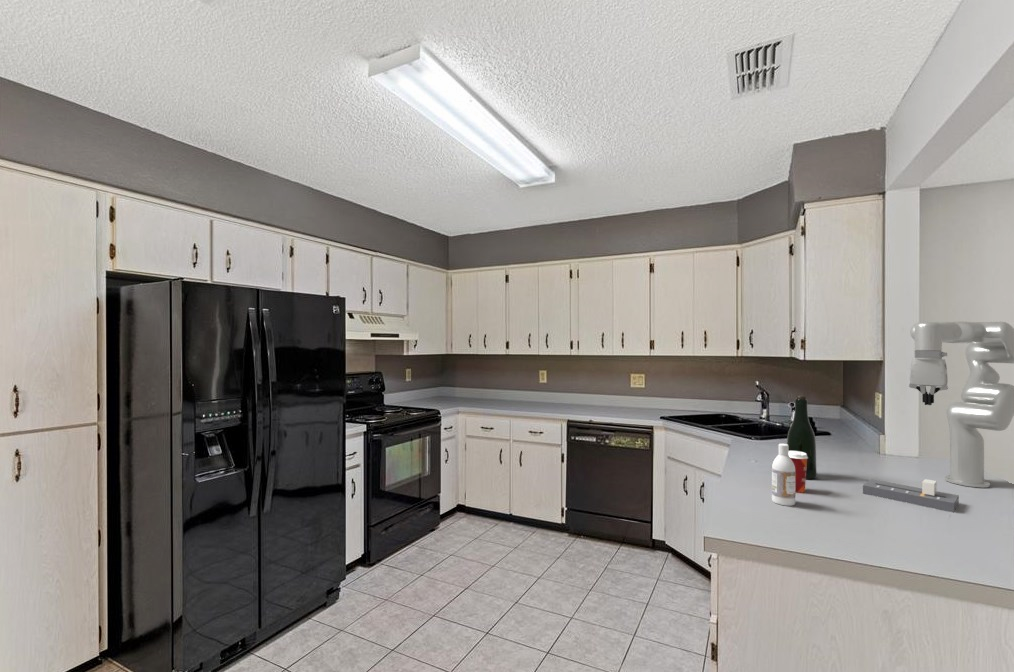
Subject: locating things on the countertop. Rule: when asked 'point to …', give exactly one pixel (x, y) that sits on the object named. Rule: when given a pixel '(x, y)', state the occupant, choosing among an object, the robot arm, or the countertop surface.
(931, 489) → the fader knob
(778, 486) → the bath foam
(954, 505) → the fader console
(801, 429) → the green wine bottle
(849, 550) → the countertop surface
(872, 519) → the countertop surface
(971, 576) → the countertop surface
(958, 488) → the countertop surface
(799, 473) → the paper cup
